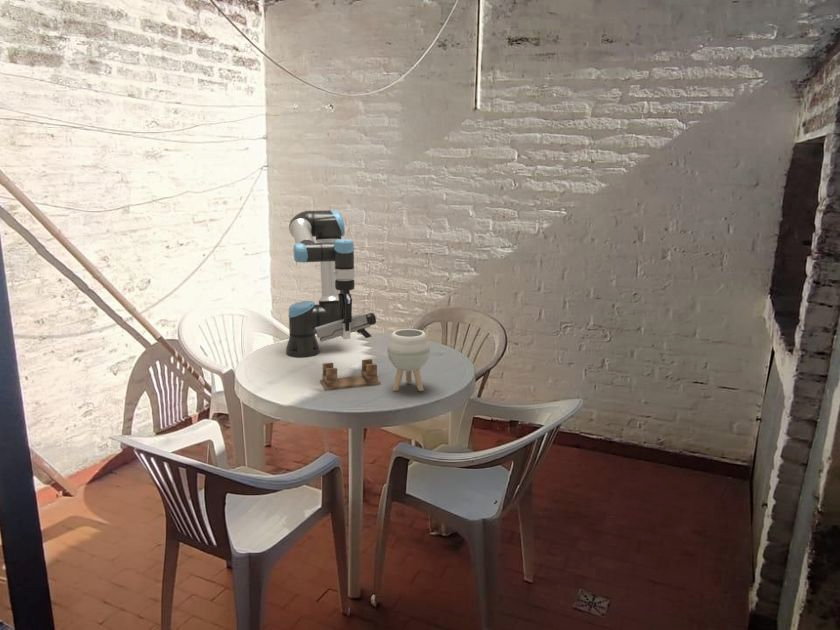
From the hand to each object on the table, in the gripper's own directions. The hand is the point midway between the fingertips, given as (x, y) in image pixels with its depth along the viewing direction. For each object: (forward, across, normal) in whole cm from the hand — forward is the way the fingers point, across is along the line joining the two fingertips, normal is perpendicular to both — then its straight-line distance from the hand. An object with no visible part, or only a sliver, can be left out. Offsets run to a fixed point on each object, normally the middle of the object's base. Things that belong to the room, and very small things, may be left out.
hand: (345, 337), depth 254 cm
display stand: (+18, +5, 0) cm, 18 cm away
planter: (+18, +18, +20) cm, 32 cm away
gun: (+1, 0, 0) cm, 1 cm away
